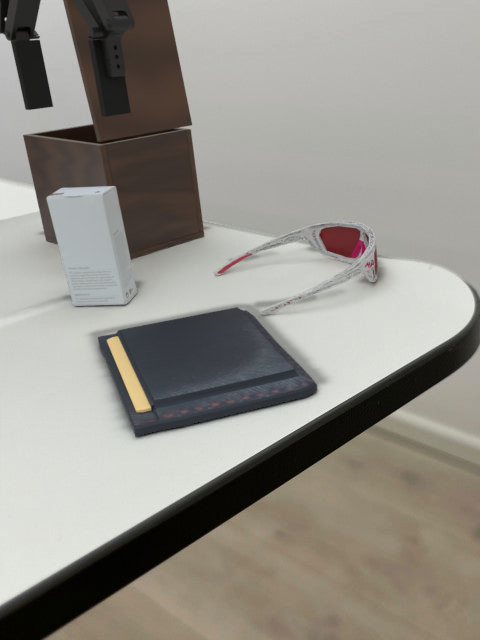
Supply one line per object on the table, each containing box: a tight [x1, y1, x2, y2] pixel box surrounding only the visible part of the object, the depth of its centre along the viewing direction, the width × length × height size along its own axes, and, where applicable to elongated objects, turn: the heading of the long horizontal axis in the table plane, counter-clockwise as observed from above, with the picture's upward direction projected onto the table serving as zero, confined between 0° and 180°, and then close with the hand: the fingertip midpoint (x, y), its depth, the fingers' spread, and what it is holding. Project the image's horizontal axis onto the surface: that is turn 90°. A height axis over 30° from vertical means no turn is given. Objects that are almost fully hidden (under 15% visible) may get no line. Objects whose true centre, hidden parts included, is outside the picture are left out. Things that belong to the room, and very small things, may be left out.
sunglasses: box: [213, 220, 378, 316], centre depth 87 cm, size 17×17×5 cm
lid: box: [62, 0, 193, 142], centre depth 89 cm, size 18×14×7 cm
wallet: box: [97, 306, 318, 437], centre depth 67 cm, size 20×2×15 cm
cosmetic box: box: [47, 186, 138, 307], centre depth 81 cm, size 6×4×12 cm
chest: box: [22, 123, 205, 260], centre depth 103 cm, size 18×14×14 cm
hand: (76, 111), depth 76 cm, fingers open, 13 cm apart
